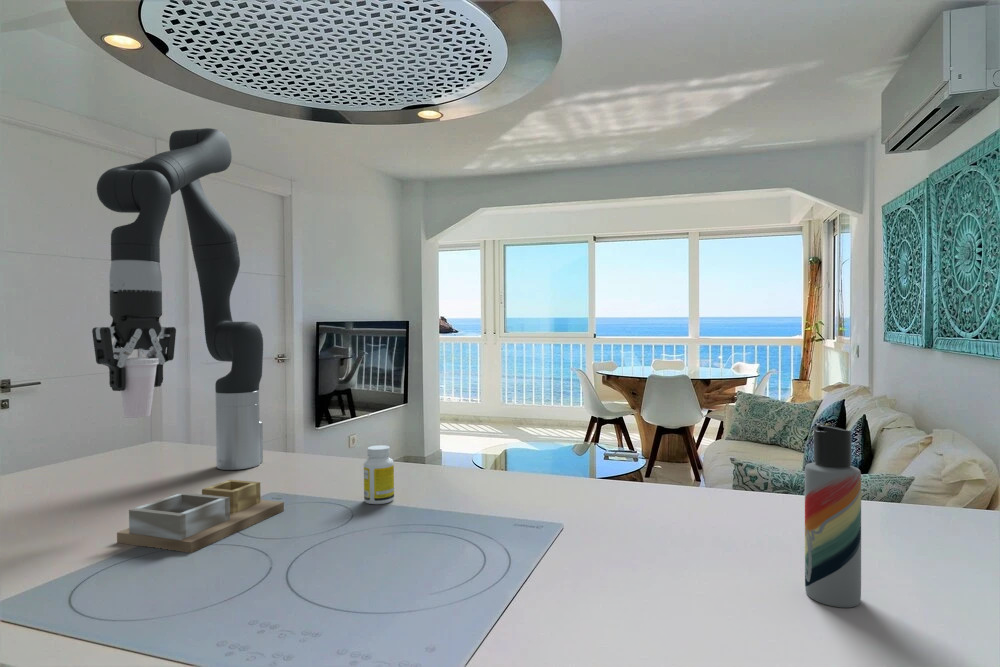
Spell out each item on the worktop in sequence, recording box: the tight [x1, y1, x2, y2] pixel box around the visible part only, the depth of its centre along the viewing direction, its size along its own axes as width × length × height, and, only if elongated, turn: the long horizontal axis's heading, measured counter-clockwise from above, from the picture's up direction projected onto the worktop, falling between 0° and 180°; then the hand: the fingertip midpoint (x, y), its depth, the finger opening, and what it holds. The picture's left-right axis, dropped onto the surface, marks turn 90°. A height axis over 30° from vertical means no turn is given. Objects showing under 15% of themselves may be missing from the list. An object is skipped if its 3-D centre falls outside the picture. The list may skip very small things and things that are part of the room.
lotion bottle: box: [804, 424, 862, 608], centre depth 69 cm, size 6×6×20 cm
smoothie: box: [120, 349, 159, 419], centre depth 100 cm, size 6×6×14 cm
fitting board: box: [116, 479, 285, 554], centre depth 95 cm, size 20×14×5 cm
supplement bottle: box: [363, 444, 395, 505], centre depth 108 cm, size 5×5×10 cm
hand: (137, 388), depth 100 cm, fingers closed on smoothie, 6 cm apart
